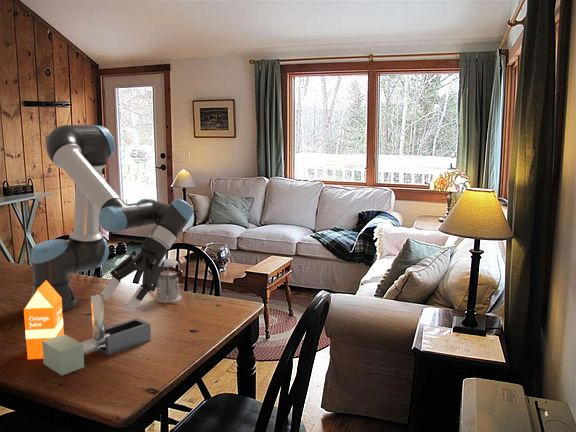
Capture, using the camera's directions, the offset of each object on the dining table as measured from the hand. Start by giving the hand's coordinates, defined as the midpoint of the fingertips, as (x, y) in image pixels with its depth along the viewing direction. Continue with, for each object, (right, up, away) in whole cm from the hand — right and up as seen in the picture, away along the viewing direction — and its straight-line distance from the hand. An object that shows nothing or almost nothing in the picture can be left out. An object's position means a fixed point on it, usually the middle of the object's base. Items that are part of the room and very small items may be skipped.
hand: (116, 303), depth 145 cm
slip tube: (-7, -13, -4) cm, 15 cm away
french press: (+4, -6, +45) cm, 46 cm away
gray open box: (+1, -13, +5) cm, 14 cm away
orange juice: (-19, -14, -1) cm, 24 cm away
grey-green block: (-11, -15, -9) cm, 21 cm away
